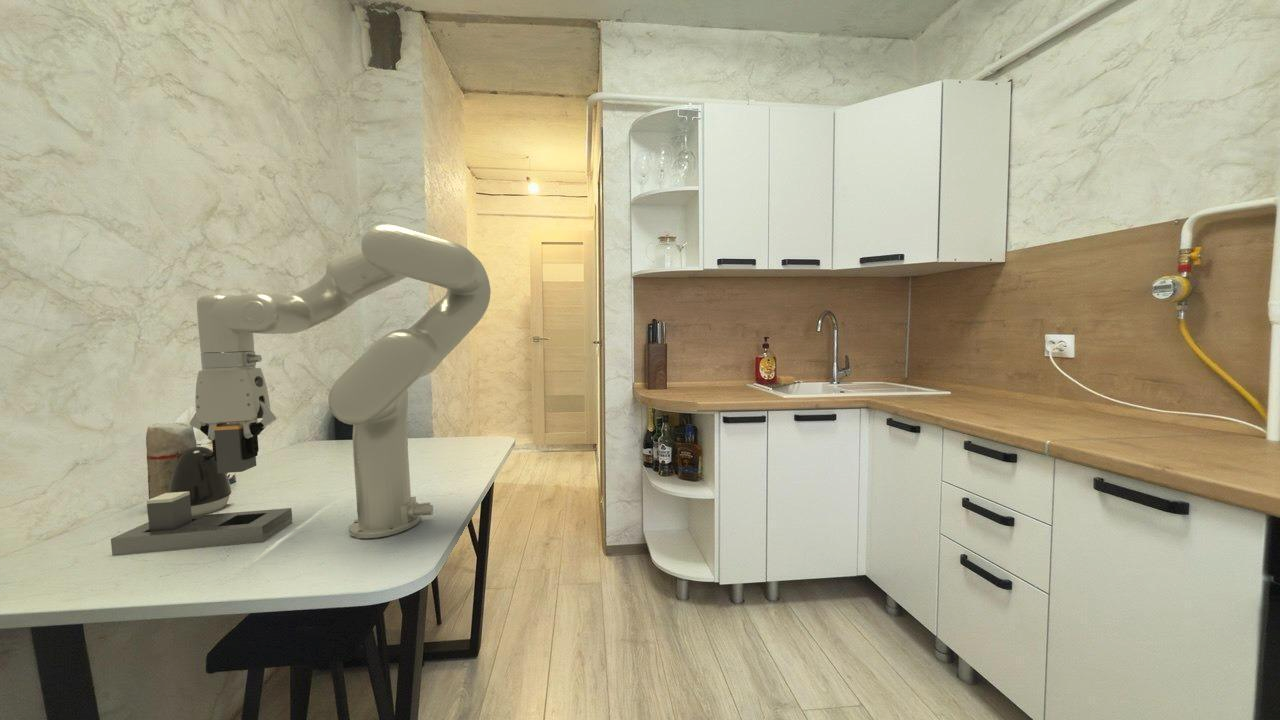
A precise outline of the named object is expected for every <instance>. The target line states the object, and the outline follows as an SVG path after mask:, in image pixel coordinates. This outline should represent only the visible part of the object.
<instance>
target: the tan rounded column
mask: <svg viewBox="0 0 1280 720" xmlns="http://www.w3.org/2000/svg"><path fill="white" fill-rule="evenodd" d="M197 444H198V443H197V438H196V435H195V431H194V427H193V426H191V425H190V423H186V422H170V423H169V422H168V423H151V424H149V426H148V427H147V430H146V437H145V446H146V465H147V485H148V487H147V488H148V500H149V499H152V498H154V497H157V496H159V495H162V494H165V493H168V489H169V483H170V479H171V476H172V472H173V469H174V467H175V464H176V462H177V460H178V459H179V457H180V456H181V454H182V453H183V452H185V451H186V450H188V449H190V448H193V447H198V446H197Z"/></svg>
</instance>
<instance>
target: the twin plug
mask: <svg viewBox="0 0 1280 720" xmlns="http://www.w3.org/2000/svg"><path fill="white" fill-rule="evenodd" d="M146 510H147V519H148V521H147V522H149V531H150V532H156V531H168V530H176V529H178V528H180V527H182V526H184V525H186V524H188V523H190V522H192V514H191V503H190V493H189V491H188V492H174V493H165V494H162V495H159V496H157V497H154V498H152V499H149V498H148V499H147V500H146Z"/></svg>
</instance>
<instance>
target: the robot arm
mask: <svg viewBox="0 0 1280 720" xmlns="http://www.w3.org/2000/svg"><path fill="white" fill-rule="evenodd" d="M360 243H361V245H360V246H359V247H357V248H355V249H353V250H351V251H348V252H346V253H344V254H341V255H339V256H337V257H334V258H332V259H330V260H329V261H328V262H327V263H326V266H325V274H324V275H323V277H321V279H320V280H318V281H317V282H315V283H313V284H311V285H310V286H308V287H306V288H304V289H301V290H300V291H297V292H295V293H292V294H290V295H284V294H276V293H269V292H268V293H267V292H252V293H247V294H246V293H245V294H238V295H233V294H207V295H201V296H200V297H198V299H197V301H196V311H197V312H196V314H197V324H198V325H197V326H198V327H197V328H198V337H199V349H200V350H199V351H200V362H201V370H198V373H197V377H196V383H195V397H194V398H195V399H194V400H195V402H194V403H195V413H194V415H193V416H192V418H191V419H190V421H189V424H190V425H191V426H193V428H195V429H197V430H200V431H201V432H202V434H204V435H206V436H207V439H208V440H209V441H212V442H211V443H212V451H213V455H214V459H215V461H217V457H216V445H215V433H214V427H217V426H220V425H224V424H228V423H241V427H242V430H243V433H244V436H245V438H243V439H242V452H243V459H244V460H248V459H250V458H253V457H255V456H256V457H257V456H258V454H259V453H258V452H259V438H258V437H259V435H261V433H262V432H263V430H265V429H266V428H267V426H269V425H271V424H273V422H275V421H276V420H277V417H276V415H275V414H274V413H273V411H271V404H270V397H269V392H268V386H267V382H266V380H265V376H264V372H263V370H262V368H261V367H256V365H257V363H260V362H262V355H260V354H256V351H255V342H254V341H255V340H254V334H263V335H275V334H277V335H278V334H280V335H281V334H282V335H283V334H285V335H286V334H287V335H288V334H290V335H292V334H297V333H301V332H304V331H306V330H308V329H312V328H313V327H316V326H317V325H320V324H321V323H324V322H326V321H328V320H330V319H332V318H335V317H336V316H337V315H339V314H341V313H343V312H344V311H345V310H347V309H348V308H349V307H351V306H352V305H354V304H355V303H356V302H357V301H359V300H362V299H363V298H366V297H367V296H370V295H372V294H374V293H376V292H378V291H381V290H383V289H385V288H387V287H389V286H392V285H393V284H395V283H398V282H400V281H402V280H404V279H406V278H410V279H413V280H416V281H421V282H424V283H426V284H427V283H428V284H431V285H435V286H438V287H441V288H444V289H446V292H445V294H444V296H443V297H442V298H441V299H440V300H439V301H437V302H436V303H435V304H433V306H431V308H429V309H428V311H426V312H425V313H424V315H423V316H422V317H421V318H419V319H418V320H417V321H416V322H415V323H414V324H413V325H412V326H410V327H409V328H401V329H396V330H393V331H390V332H388V333H386V334H385V335H383V336H381V337H380V338H379V339H377V340H376V341H375V342H374V343H373V344H372V345H371V346H370V347H369V348H368V349H366V351H365V352H364V353H363V354H362V355H361V356H360V357H359V358H358V359H357V360H355V362H354V363H353V364H351V365H350V367H348V368H347V369H346V370H345V371H344V372H343V373H342V374H341V375H340V376H339V377H338V379H337V380H336V381H335V382H334V383H333V385H332V386H331V388H330V390H329V393H328V399H327V400H328V407H329V409H330V413H331V414H333V416H334V418H336V419H337V420H338V421H339V422H342V423H343V424H347V425H353V426H352V457H353V470H354V482H355V485H354V486H355V498H356V500H355V501H356V513H357V514H356V515H357V519H355V520H354V521H352V523H350V525H349V527H348V529H349V530H348V531H349V532H348V533H349V535H350V536H352V537H353V538H357V539H376V538H384V537H388V536H392V535H395V534H396V535H397V534H399V533H402V532H404V531H406V530H409V529H412V528H413V527H416V525H418V523H420V521H421V520H422V519H421V517H422V516H423V517H424V516H432V515H433V514H434V505H433V504H431V502H422V503H421V502H420V503H419V502H417V496H412V492H411V477H410V464H409V463H410V462H409V442H408V441H409V439H408V438H409V437H408V411H409V410H408V409H409V408H408V407H409V392H408V389H409V388H410V387H412V386H413V384H414V383H416V382H417V380H420V378H423V377H425V376H428V375H429V374H431V373H432V372H433V371H435V370H436V369H437V367H438V366H439V365H440V364H441V363H442V362H443V360H444V359H445V358H446V357H447V356H449V354H450V353H451V352H452V351H453V350H454V349H455V348H456V347H457V346H458V345H459V344H460V343H461V342H462V341H463V339H465V338H466V336H468V334H469V333H470V332H472V331H473V329H474V328H475V327H476V326H477V325H478V324H479V322H480V321H481V319H482V318H483V317H484V316H485V313H486V312H487V309H488V307H489V304H490V300H491V293H492V291H491V284H490V280H489V275H488V274H487V271H486V269H485V266H484V265H483V263H482V262H481V261H480V259H479V258H478V257H477V256H476V255H475V254H474V253H472V252H471V251H470V250H469V248H467V247H465V246H464V245H462V244H460V243H457V242H454V241H451V240H447V239H444V238H441V237H438V236H434V235H430V234H426V233H424V232H421V231H417V230H414V229H413V230H412V229H410V228H407V227H403V226H400V225H396V224H393V223H381V224H377V225H374V226H372V227H371V228H369V229H368V230H367V231H366V232H365V233H364V235H363V237H362V239H361V242H360ZM258 419H261V420H259V421H258Z"/></svg>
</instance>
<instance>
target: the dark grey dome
mask: <svg viewBox="0 0 1280 720" xmlns="http://www.w3.org/2000/svg"><path fill="white" fill-rule="evenodd" d="M188 491H189V493H190V503H191V514H192V516H196V515H208V514H212V513H214V512H216V511H219V510H222V509H223V508H225V506H227V504H228V502H229V500H230V495H232V487H231V483H230V480H229V475H228V474H227V473H218V469H217V461H215V459H214V455H213V450H212V449H210V448H208V447H206V446H197V447H193V448H190V449H188V450H186V451H185V452H183V453H182V454H181V456H180V457H179V459H178V460H177V462H176V464H175V467H174V469H173V472H172V476H171V479H170V483H169V489H168V493H174V492H188Z"/></svg>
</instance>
